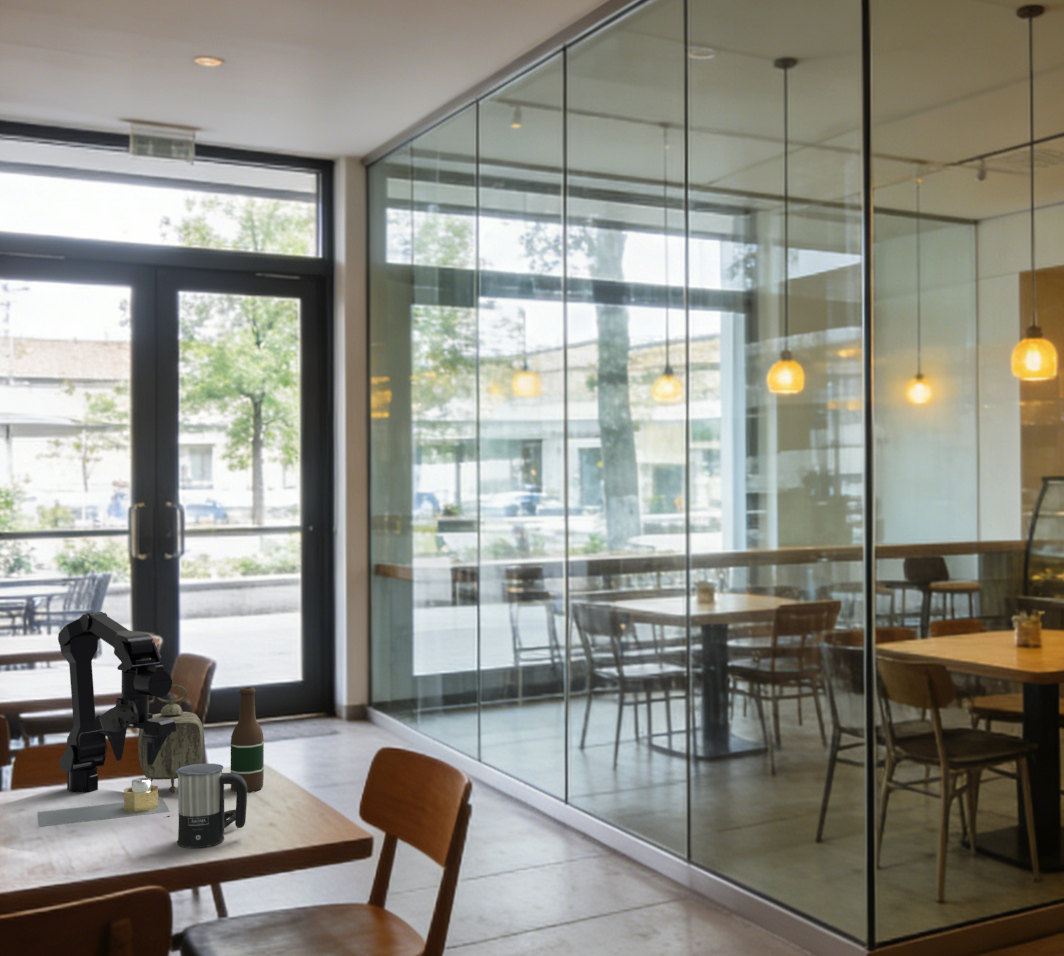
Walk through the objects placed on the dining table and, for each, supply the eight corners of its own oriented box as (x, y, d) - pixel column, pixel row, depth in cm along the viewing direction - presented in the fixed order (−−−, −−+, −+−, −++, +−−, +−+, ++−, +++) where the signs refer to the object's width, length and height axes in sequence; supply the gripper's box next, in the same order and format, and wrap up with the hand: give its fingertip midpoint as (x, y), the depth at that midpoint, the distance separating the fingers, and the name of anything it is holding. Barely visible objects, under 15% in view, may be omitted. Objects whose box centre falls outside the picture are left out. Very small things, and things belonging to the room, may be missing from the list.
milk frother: (180, 851, 220) (180, 775, 220) (166, 830, 234) (167, 759, 234) (253, 841, 227) (253, 767, 227) (235, 821, 241) (235, 752, 241)
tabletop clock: (200, 783, 272) (200, 680, 273) (205, 792, 264) (206, 685, 264) (137, 789, 266) (138, 684, 267) (141, 799, 258) (141, 690, 259)
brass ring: (117, 809, 245) (117, 791, 245) (140, 801, 251) (140, 783, 252) (141, 813, 242) (141, 794, 242) (164, 805, 249) (164, 787, 249)
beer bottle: (270, 786, 270) (270, 686, 270) (252, 794, 262) (252, 691, 263) (242, 783, 272) (242, 684, 272) (223, 791, 265) (223, 689, 265)
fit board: (39, 832, 232) (39, 797, 233) (37, 817, 243) (37, 784, 243) (169, 817, 244) (169, 783, 244) (162, 803, 254) (162, 771, 255)
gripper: (75, 694, 244) (74, 766, 244) (140, 701, 237) (140, 775, 236) (113, 686, 254) (113, 755, 254) (177, 692, 247) (177, 764, 247)
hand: (134, 762), depth 248 cm, fingers open, 9 cm apart
